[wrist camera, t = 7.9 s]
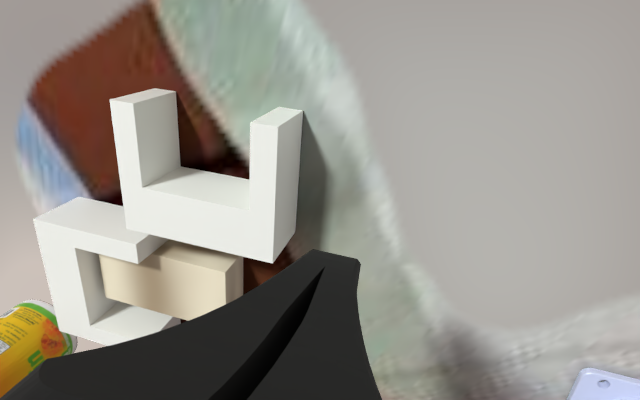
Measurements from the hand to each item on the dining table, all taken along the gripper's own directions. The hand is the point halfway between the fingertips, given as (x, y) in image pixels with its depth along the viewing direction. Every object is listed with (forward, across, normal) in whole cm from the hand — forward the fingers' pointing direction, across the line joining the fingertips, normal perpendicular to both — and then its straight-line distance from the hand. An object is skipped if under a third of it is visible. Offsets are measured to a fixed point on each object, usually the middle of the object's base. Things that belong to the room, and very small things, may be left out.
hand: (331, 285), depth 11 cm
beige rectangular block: (+10, +11, +8) cm, 17 cm away
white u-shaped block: (+9, +8, +1) cm, 12 cm away
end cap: (+9, +15, +9) cm, 20 cm away
